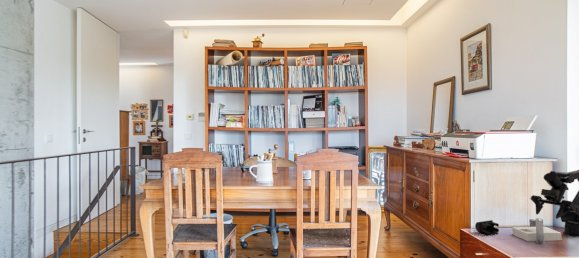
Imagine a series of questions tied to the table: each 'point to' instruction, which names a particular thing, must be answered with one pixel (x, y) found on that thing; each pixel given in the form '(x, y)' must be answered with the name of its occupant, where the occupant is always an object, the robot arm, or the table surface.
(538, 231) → the long pin
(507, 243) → the table surface
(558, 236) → the hole plate
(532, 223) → the short pin
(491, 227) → the end cap
